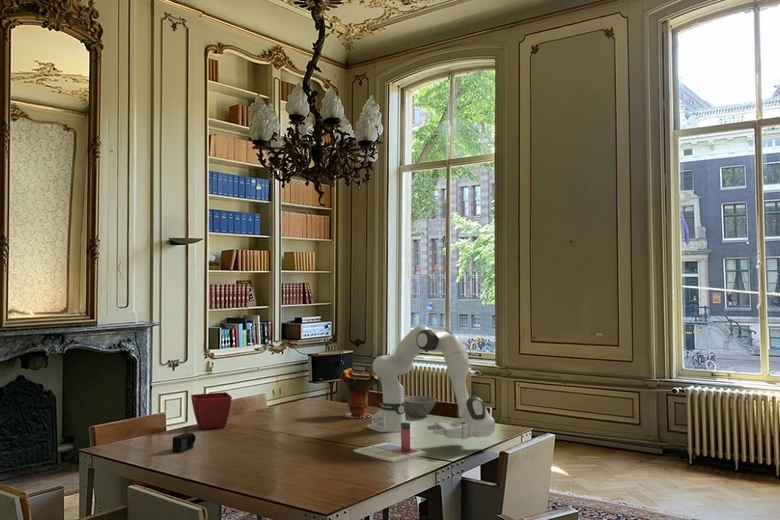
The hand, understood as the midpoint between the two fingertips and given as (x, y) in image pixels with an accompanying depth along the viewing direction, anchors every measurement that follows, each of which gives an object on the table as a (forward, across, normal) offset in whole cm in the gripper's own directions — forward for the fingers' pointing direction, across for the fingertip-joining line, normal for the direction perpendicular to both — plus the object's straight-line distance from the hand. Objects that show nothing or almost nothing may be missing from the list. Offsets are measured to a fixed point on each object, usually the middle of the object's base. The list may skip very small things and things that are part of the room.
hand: (430, 429), depth 284 cm
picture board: (+18, -3, +10) cm, 21 cm away
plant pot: (+99, -84, +9) cm, 130 cm away
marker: (+12, 0, +8) cm, 14 cm away
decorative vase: (+16, -94, +10) cm, 96 cm away
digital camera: (+108, -32, +10) cm, 113 cm away
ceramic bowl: (-17, -86, +10) cm, 88 cm away
